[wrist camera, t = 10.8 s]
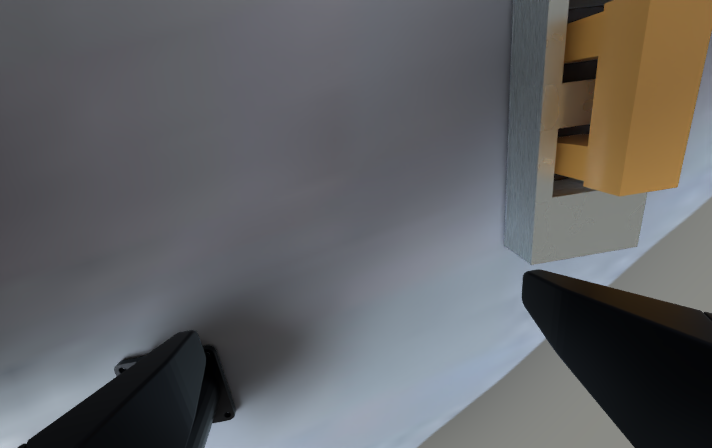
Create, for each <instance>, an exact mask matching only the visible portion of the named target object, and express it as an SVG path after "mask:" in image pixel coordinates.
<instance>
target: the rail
mask: <svg viewBox="0 0 712 448" xmlns="http://www.w3.org/2000/svg"><path fill="white" fill-rule="evenodd" d="M610 1H613V0H513V10H512V38H511V66H510V94H509V122H508V150H507V177H506V205H505V233H504V246H505V247H506V248H508V249H509V250H511V251H512V252H513V253H515V254H516V255H518V256H519V257H520V258H522V259H523V260H525V261H526V262H528V263H529V264H530V265H534V264H540V263H545V262H551V261H557V260H563V259H569V258H574V257H580V256H586V255H592V254H597V253H603V252H609V251H615V250H620V249H626V248H632V247H637V245H638V240H639V234H640V229H641V224H642V218H643V213H644V208H645V202H646V197H647V192H645V193H638V194H632V195H626V196H620V197H619V196H616V195H612V194H608V193H605V192H601V191H598V190H594V189H590V188H587V187H583V183H584V181H582V180H578V179H574V178H571V179H565V180H558V181H554V170H555V159H556V147H557V136H558V128H566V127H573V126H580V125H587V124H591V115H592V107H593V98H594V89H595V81H596V79H588V80H580V81H573V82H565V83H562V77H563V66H564V54H565V43H566V31H567V19H568V9H575V8H584V7H592V6H601V5H604V4H605V3H607V2H610Z"/></svg>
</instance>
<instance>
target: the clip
mask: <svg viewBox="0 0 712 448" xmlns="http://www.w3.org/2000/svg"><path fill="white" fill-rule="evenodd" d="M711 31H712V0H613V1H610V2H607V3H605V4H604V11H603V12H600V13H597V14H594V15H592V16H589V17H586V18H583V19H580V20H577V21H574V22H571V23H568V24H567V31H566V43H565V54H564V64H567V63H575V62H583V61H590V60H596V59H598V64H597V72H596V81H595V89H594V98H593V107H592V115H591V124H590V132H589V134H576V135H569V136H562V137H557V147H556V159H555V170H554V173H555V174H559V175H563V176H566V177H570V178H574V179H578V180H582V181H584V183H583V187H587V188H590V189H594V190H598V191H601V192H605V193H608V194H612V195H616V196H619V197H620V196H626V195H632V194H638V193H645V192H651V191H657V190H663V189H669V188H676V187H678V183H679V178H680V173H681V169H682V164H683V160H684V155H685V151H686V146H687V141H688V137H689V132H690V128H691V123H692V119H693V114H694V109H695V105H696V100H697V96H698V91H699V86H700V82H701V77H702V73H703V68H704V64H705V59H706V54H707V50H708V45H709V41H710V36H711Z"/></svg>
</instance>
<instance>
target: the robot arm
mask: <svg viewBox="0 0 712 448" xmlns="http://www.w3.org/2000/svg"><path fill="white" fill-rule="evenodd" d="M522 301H523V304H524V306H525V308H526V309H527V311H528V312H529V314H530V315H531V317H532V318H533V320H534V321H535V323H536V324H537V326H538V327H539V328H540V330H541V331H542V333H543V334H544V336H545V337H546V339H547V340H548V342H549V343H550V345H551V346H552V347H553V349H554V350H555V351H556V353H557V354H558V355H559V357H560V358H561V359H562V360H563V362H564V363H565V364H566V365H567V366H568V368H569V369H570V370H571V371H572V373H573V374H574V375H575V376H576V377H577V379H578V380H579V381H580V382H581V383H582V385H583V386H584V387H585V388H586V389H587V391H588V392H589V393H590V394H591V395H592V397H593V398H594V399H595V400H596V402H597V403H598V404H599V405H600V406H601V408H602V409H603V410H604V411H605V412H606V414H607V415H608V416H609V417H610V418H611V420H612V421H613V422H614V423H615V424H616V426H617V427H618V428H619V429H620V430H621V432H622V433H623V434H624V435H625V437H626V438H627V439H628V440H629V441H630V443H631V444H632V445H633V446H634V447H635V448H712V313H708V312H704V313H703V312H702V311H700V310H696V309H692V308H688V307H685V306H680V305H677V304H673V303H669V302H665V301H661V300H657V299H653V298H649V297H645V296H642V295H638V294H634V293H630V292H626V291H622V290H618V289H614V288H611V287H607V286H603V285H599V284H595V283H591V282H587V281H583V280H579V279H575V278H572V277H568V276H564V275H560V274H556V273H552V272H548V271H544V270H532V271H527V272H525V273H524V275H523V284H522ZM205 352H208V353H210V354H206V353H205ZM123 368H125V369H123ZM114 371H115V374H116V376H117V377H116V378H114V379H113V380H111V381H110V382H109V383H107V384H106V385H105V386H103V387H102V388H100V389H99V390H98V391H96V392H95V393H93V394H92V395H91V396H89V397H88V398H86V399H85V400H84V401H82V402H81V403H79V404H78V405H77V406H75V407H74V408H72V409H71V410H70V411H68V412H67V413H65V414H64V415H63V416H61V417H60V418H59V419H57V420H56V421H54V422H53V423H52V424H50V425H49V426H47V427H46V428H45V429H43V430H42V431H40V432H39V433H38V434H36V435H35V436H33V437H32V438H31V439H29V440H28V442H27V444H22V445H21V446H19V447H18V448H204V447H205V444H206V441H207V438H208V435H209V432H210V429H211V425H212V423H216V422H222V421H227V420H231V419H232V418H234V416H235V412H236V409H235V406H234V403H233V400H232V397H231V394H230V391H229V388H228V385H227V382H226V378H225V375H224V372H223V369H222V366H221V363H220V360H219V357H218V354H217V351H216V349H215V348H214V347H213V346H210V345H206V346H202V344H201V341H200V338H199V335H198V333H197V332H196V331H194V330H190V331H184V332H179V333H177V334H176V335H174V336H173V337H171V338H170V339H169V340H167V341H166V342H164V343H163V344H162V345H160V346H159V347H157V348H156V349H155V350H153V351H152V352H151V353H149V354H148V355H146V356H142V357H139V358H134V359H128V360H123V361H120V362H119V363H118V364H117V366H116V367H115V369H114ZM227 412H229V413H227Z"/></svg>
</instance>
